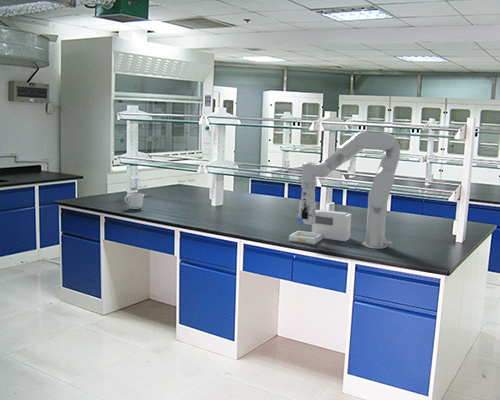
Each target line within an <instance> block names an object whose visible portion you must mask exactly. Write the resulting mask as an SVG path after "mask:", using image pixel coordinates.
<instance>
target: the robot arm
mask: <svg viewBox="0 0 500 400" xmlns="http://www.w3.org/2000/svg"><path fill="white" fill-rule="evenodd" d="M363 150H371V151H373V150H375V151H376V150H377V151H382V155H381V156H382V157H381V160H380V163H379V166H378V168H377V170H376V173H375V175H374V179H373V181H372V183H371V184H372V185H371V187H370V191H369V192H368V196H367V197H368V198H367V216H366V230H365V232H366V233H365V241H362V243H361V244H362V246H363V247H364V248H368V249H375V250H376V249H377V250H378V249H379V250H381V249H385V248H386V249H387V245H389V246H392V245H393V241H391V240H387V238H386V237H385V233H386V220H387V219H386V218H387V206H388V199H389V198H390V194H391V191H392V189H393V185H394V183H395V175H396V174H395V173H396V169H397V167H398V164H399V160H400V157H401V156H400V155H401V148H400V144H399V142H398V140H397V138H396V137H395V136H393V134H391V133H389V132H369V131H365V130H361V131H359V132H357V133H356V134H354V135H353V136H352V137H351V138H349V139H348V140H346V141H345V142H344V143H343V144H341V145H340V146H339V147H338V148H337V149H336V150H335V151H334V152H333V153H332V154H330V155H329V156H328V157H327V158H325V159H324V160H323V161H322V162H320V163H315V162H312V161H306V162H303V163H302V167H301V183H300V184H301V198H300V201H301V207H302V219H307V216H308V212H307V209H308V207H310V203H312V202H315V203H316V183H317V182H316V178H317V177H318V178H326V177H328V176H329V175H330V174H331V173H332V172H333V171H335V170H336V169H337V168H339V167H340V166H341V165H343V164H345V163H347V162H349V161H350V160H351V159H353V158H354V157H355V156H357V155H358V154H359V153H360V152H361V151H363ZM305 205H307V206H305ZM305 207H306V208H305Z"/></svg>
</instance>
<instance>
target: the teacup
mask: <svg viewBox="0 0 500 400" xmlns="http://www.w3.org/2000/svg"><path fill="white" fill-rule="evenodd" d="M144 197H145V194H144V193H140V192H132V193H127V194H126V196H124V202H125V203H127V204H128V205H129V207H130V208H131V210H133V209H138V210H140V209H141V207H143V205H144V204H143V203H144ZM139 208H140V209H139Z"/></svg>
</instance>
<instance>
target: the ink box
mask: <svg viewBox="0 0 500 400" xmlns="http://www.w3.org/2000/svg"><path fill="white" fill-rule="evenodd" d="M305 206H307V205H305ZM305 208H306V207H305ZM316 210H317V202H316V201H315V202H312V203H310V207H308V209H307V212H308V216H307V219H302V207H301V200H300V201H299V202H298V212H297V213H298V215H297V222H298V223H301V224H305V225H312V224H315V213H316Z"/></svg>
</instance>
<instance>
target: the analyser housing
mask: <svg viewBox="0 0 500 400" xmlns="http://www.w3.org/2000/svg"><path fill="white" fill-rule="evenodd" d="M351 226H352V213H348V212H345V211H336V210H327V209H316V213H315V224H311V232H313V233H320V234H323V239H328V240H332V241H333V240H334V241H341V242H347V241H348V240H350V238H351Z"/></svg>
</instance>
